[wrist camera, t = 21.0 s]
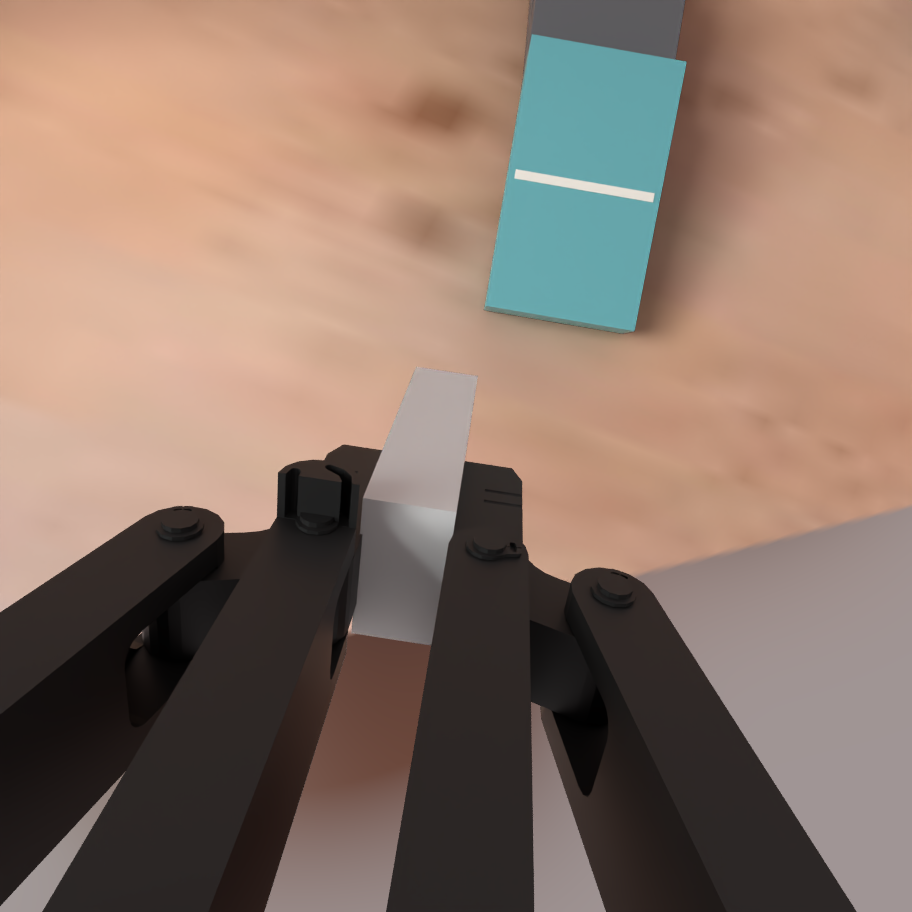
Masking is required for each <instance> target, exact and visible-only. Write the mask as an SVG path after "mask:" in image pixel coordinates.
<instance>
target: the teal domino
mask: <svg viewBox="0 0 912 912" xmlns="http://www.w3.org/2000/svg"><path fill="white" fill-rule="evenodd" d="M686 63H687V62H686V61H680V60H675V59H669V58H663V57H658V56H652V55H647V54H641V53H635V52H630V51H624V50H618V49H613V48H607V47H601V46H596V45H590V44H585V43H579V42H573V41H568V40H562V39H556V38H551V37H545V36H539V35H534V34H532V37H531V41H530V45H529V50H528V54H527V59H526V65H525V71H524V77H523V83H522V89H521V95H520V101H519V107H518V113H517V118H516V124H515V130H514V136H513V142H512V148H511V154H510V160H509V166H508V172H507V178H506V183H505V189H504V195H503V201H502V207H501V213H500V219H499V225H498V231H497V237H496V243H495V248H494V254H493V260H492V266H491V272H490V278H489V284H488V290H487V296H486V302H485V308H484V310H487V311H492V312H498V313H504V314H510V315H516V316H522V317H528V318H534V319H539V320H545V321H551V322H557V323H563V324H569V325H575V326H580V327H586V328H592V329H598V330H604V331H610V332H616V333H622V334H624V333H628V332H633V331H635V326H636V321H637V316H638V310H639V305H640V300H641V295H642V290H643V285H644V280H645V274H646V269H647V264H648V259H649V254H650V249H651V243H652V238H653V233H654V228H655V223H656V218H657V213H658V207H659V202H660V197H661V192H662V187H663V182H664V177H665V171H666V166H667V161H668V156H669V151H670V146H671V140H672V135H673V130H674V125H675V120H676V115H677V110H678V104H679V99H680V94H681V89H682V84H683V79H684V74H685V68H686Z"/></svg>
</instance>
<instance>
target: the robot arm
mask: <svg viewBox="0 0 912 912" xmlns="http://www.w3.org/2000/svg"><path fill="white" fill-rule="evenodd" d="M477 378H478V376H474V375H468V374H461V373H455V372H448V371H441V370H435V369H428V368H421V367H416V368H415V371H414V373H413V376H412V378H411V381H410V383H409V386H408V388H407V391H406V393H405V395H404V398H403V400H402V403H401V405H400V408H399V410H398V413H397V415H396V418H395V420H394V423H393V425H392V427H391V430H390V432H389V435H388V437H387V440H386V442H385V445H384V447H383V450H376V449H369V448H363V447H356V446H350V445H342V446H340V447H339V448H337V449H335V450H333V451H332V452H330V453H328V454H327V456H326V458H325V460H308V461H299V462H296V463H293V464H290V465H287V466H285V467H284V468H283V469H282V470H281V471H279V472H278V498H277V518H276V519H275V521H274V523H273V524H272V526H271V528H270V529H267V530H263V531H257V532H246V533H224V521H223V520H222V519H221V518H220V517H219V515H218V514H215V513H213V512H211V511H209V510H207V509H203V508H197V507H192V506H184V507H182V506H176V507H172V508H167V509H162V510H158V511H156V512H154V513H152V514H149V515H147V516H145V517H144V518H142V519H141V520H139V521H137V522H136V523H134V524H133V525H131V526H130V527H128V528H127V529H125V530H124V531H122V532H121V533H119V534H118V535H116V536H115V537H113V538H112V539H110V540H109V541H107V542H106V543H104V544H103V545H101V546H100V547H98V548H97V549H95V550H94V551H92V552H91V553H89V554H88V555H86V556H85V557H83V558H82V559H80V560H79V561H77V562H76V563H74V564H73V565H71V566H70V567H68V568H67V569H65V570H64V571H62V572H60V573H59V574H57V575H56V576H54V577H53V578H51V579H50V580H48V581H47V582H45V583H44V584H42V585H41V586H39V587H38V588H36V589H35V590H33V591H32V592H30V593H29V594H27V595H26V596H24V597H23V598H21V599H20V600H18V601H17V602H15V603H14V604H12V605H11V606H9V607H8V608H6V609H5V610H3V611H2V612H0V906H1V905H2V904H3V902H4V901H5V900H6V899H7V898H8V897H9V896H10V895H11V894H12V893H13V891H15V890H16V888H17V887H18V886H19V885H20V884H21V883H22V882H23V881H24V880H25V879H26V878H27V877H28V875H29V874H30V873H31V872H32V871H33V870H34V869H35V868H36V867H37V866H38V865H39V864H40V863H41V862H42V861H43V859H44V858H45V857H46V856H47V855H48V854H49V853H50V852H51V851H52V850H53V849H54V847H56V845H57V844H58V843H59V842H60V841H61V840H62V839H63V838H64V837H65V836H66V835H67V834H68V833H69V831H70V830H71V829H72V828H73V827H74V826H75V825H76V824H77V823H78V822H79V821H80V820H81V819H82V817H83V816H84V815H85V814H86V813H87V812H88V811H89V810H90V809H91V808H92V806H93V805H94V804H96V802H97V801H98V800H99V799H100V798H101V797H102V796H103V795H104V794H105V793H106V792H107V791H108V790H109V788H110V787H111V786H112V785H113V784H114V783H115V782H116V781H117V780H118V779H119V778H120V777H121V776H122V775H123V773H124V772H125V771H126V772H125V774H124V775H123V777H122V779H121V780H120V782H119V784H118V785H117V787H116V789H115V790H114V792H113V794H112V796H111V797H110V799H109V800H108V802H107V804H106V805H105V807H104V809H103V811H102V812H101V814H100V816H99V817H98V819H97V821H96V822H95V824H94V826H93V828H92V829H91V831H90V832H89V834H88V836H87V837H86V839H85V841H84V843H83V844H82V846H81V848H80V850H79V851H78V853H77V854H76V856H75V858H74V860H73V861H72V863H71V865H70V866H69V868H68V869H67V871H66V873H65V875H64V876H63V878H62V880H61V881H60V883H59V885H58V886H57V888H56V890H55V892H54V893H53V895H52V896H51V898H50V900H49V902H48V903H47V905H46V907H45V908H44V910H43V911H42V912H264V911H265V908H266V904H267V901H268V898H269V895H270V892H271V888H272V886H273V882H274V879H275V876H276V873H277V870H278V866H279V863H280V860H281V857H282V854H283V850H284V848H285V844H286V841H287V838H288V835H289V832H290V828H291V825H292V822H293V819H294V816H295V813H296V809H297V806H298V803H299V800H300V797H301V794H302V791H303V788H304V784H305V781H306V778H307V775H308V772H309V769H310V765H311V762H312V759H313V756H314V753H315V750H316V746H317V743H318V740H319V737H320V734H321V731H322V727H323V724H324V721H325V718H326V715H327V712H328V708H329V705H330V702H331V699H332V696H333V693H334V690H335V686H336V683H337V680H338V677H339V674H340V671H341V667H342V664H343V661H344V658H345V655H346V647H347V635H348V628H349V625H350V622H351V619H352V616H353V621H352V633H355V634H361V635H368V636H375V637H381V638H387V639H393V640H400V641H406V642H413V643H419V644H426V645H431V650H430V656H429V662H428V668H427V674H426V680H425V686H424V692H423V697H422V703H421V709H420V715H419V721H418V727H417V733H416V739H415V745H414V751H413V757H412V762H411V769H410V774H409V780H408V786H407V792H406V798H405V804H404V810H403V815H402V821H401V827H400V833H399V839H398V845H397V851H396V857H395V863H394V869H393V875H392V881H391V887H390V892H389V898H388V904H387V910H386V912H534V869H533V810H532V809H533V808H532V751H531V749H532V747H531V702H533V703H536V704H538V705H540V706H541V707H540V710H541V719H542V723H543V726H544V729H545V731H546V735H547V738H548V741H549V743H550V746H551V749H552V752H553V755H554V758H555V761H556V764H557V767H558V770H559V773H560V776H561V779H562V782H563V785H564V788H565V791H566V794H567V797H568V800H569V803H570V806H571V809H572V812H573V815H574V818H575V821H576V824H577V826H578V830H579V833H580V835H581V838H582V842H583V845H584V848H585V850H586V854H587V856H588V859H589V862H590V865H591V868H592V871H593V874H594V877H595V880H596V883H597V886H598V889H599V892H600V895H601V898H602V901H603V904H604V907H605V910H606V912H856V910H855V909H854V907H853V905H852V904H851V902H850V901H849V899H848V898H847V896H846V894H845V893H844V892H843V890H842V888H841V887H840V885H839V884H838V882H837V880H836V879H835V877H834V876H833V874H832V873H831V871H830V869H829V868H828V866H827V865H826V863H825V862H824V860H823V858H822V857H821V855H820V854H819V852H818V851H817V849H816V848H815V846H814V844H813V843H812V841H811V840H810V838H809V837H808V835H807V833H806V832H805V830H804V829H803V827H802V826H801V824H800V823H799V821H798V819H797V818H796V816H795V815H794V813H793V812H792V810H791V808H790V807H789V805H788V804H787V802H786V801H785V799H784V797H783V796H782V794H781V793H780V791H779V790H778V788H777V787H776V785H775V783H774V782H773V780H772V779H771V777H770V776H769V774H768V773H767V771H766V769H765V768H764V766H763V765H762V763H761V762H760V760H759V759H758V757H757V755H756V754H755V752H754V751H753V749H752V747H751V746H750V744H749V743H748V741H747V740H746V738H745V737H744V735H743V733H742V732H741V730H740V729H739V727H738V726H737V724H736V722H735V721H734V719H733V718H732V716H731V715H730V713H729V712H728V710H727V708H726V707H725V705H724V704H723V702H722V701H721V699H720V697H719V696H718V694H717V693H716V691H715V690H714V688H713V687H712V685H711V683H710V682H709V680H708V679H707V677H706V676H705V674H704V672H703V671H702V669H701V668H700V666H699V665H698V663H697V661H696V660H695V659H694V657H693V655H692V654H691V652H690V651H689V649H688V647H687V646H686V645H685V643H684V641H683V640H682V638H681V637H680V635H679V633H678V632H677V630H676V629H675V627H674V625H673V624H672V622H671V621H670V619H669V618H668V616H667V615H666V613H665V611H664V610H663V608H662V607H661V605H660V604H659V602H658V600H657V599H656V597H655V596H654V594H653V593H652V592H651V591H650V590H649V589H648V587H647V586H646V585H645V584H644V583H642V582H641V581H639V580H638V579H636V578H634V577H633V576H631V575H629V574H627V573H624V572H620V571H618V570H614V569H606V568H591V569H585V570H583V571H581V572H579V573H577V574H575V576H574V578H573V579H572V581H571V583H569V582H566V581H563V580H560V579H558V578H555V577H553V576H551V575H548V574H546V573H544V572H543V571H541V570H540V569H538V568H536V567H535V566H534V565H533V564H532V563H531V562H530V561H529V558H528V552H527V550H526V547H525V545H524V544H523V531H522V481H521V479H520V478H519V477H518V476H517V474H516V473H515V472H514V470H513V469H512V468H506V467H499V466H493V465H486V464H480V463H473V462H466V461H465V457H466V450H467V444H468V437H469V431H470V424H471V417H472V411H473V404H474V398H475V391H476V385H477ZM141 632H142V633H141ZM140 633H141V634H140ZM139 634H140V635H139ZM138 635H139V636H138Z"/></svg>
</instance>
